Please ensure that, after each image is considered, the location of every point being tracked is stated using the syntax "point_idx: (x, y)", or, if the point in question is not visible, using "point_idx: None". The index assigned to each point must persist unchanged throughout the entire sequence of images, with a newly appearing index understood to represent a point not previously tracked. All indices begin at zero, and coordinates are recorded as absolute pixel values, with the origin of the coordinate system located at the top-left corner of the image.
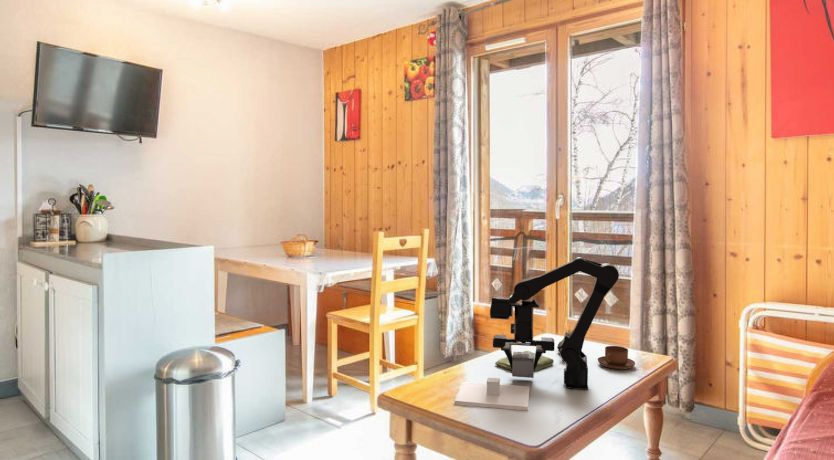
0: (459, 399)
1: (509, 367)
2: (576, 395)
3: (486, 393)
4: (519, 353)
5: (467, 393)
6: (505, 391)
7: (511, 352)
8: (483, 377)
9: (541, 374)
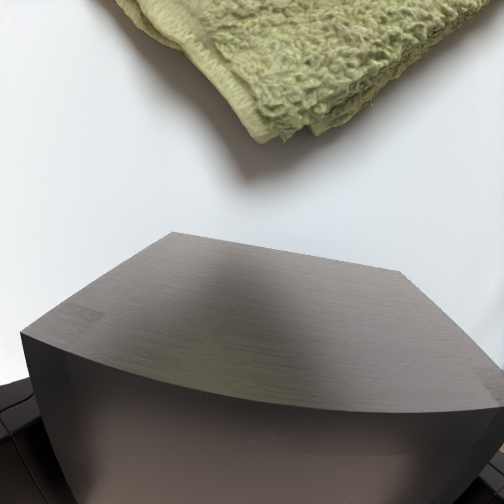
0: None
1: (166, 45)
2: None
3: None
4: (176, 481)
5: None
6: None
7: (29, 482)
8: (6, 252)
9: (457, 147)
